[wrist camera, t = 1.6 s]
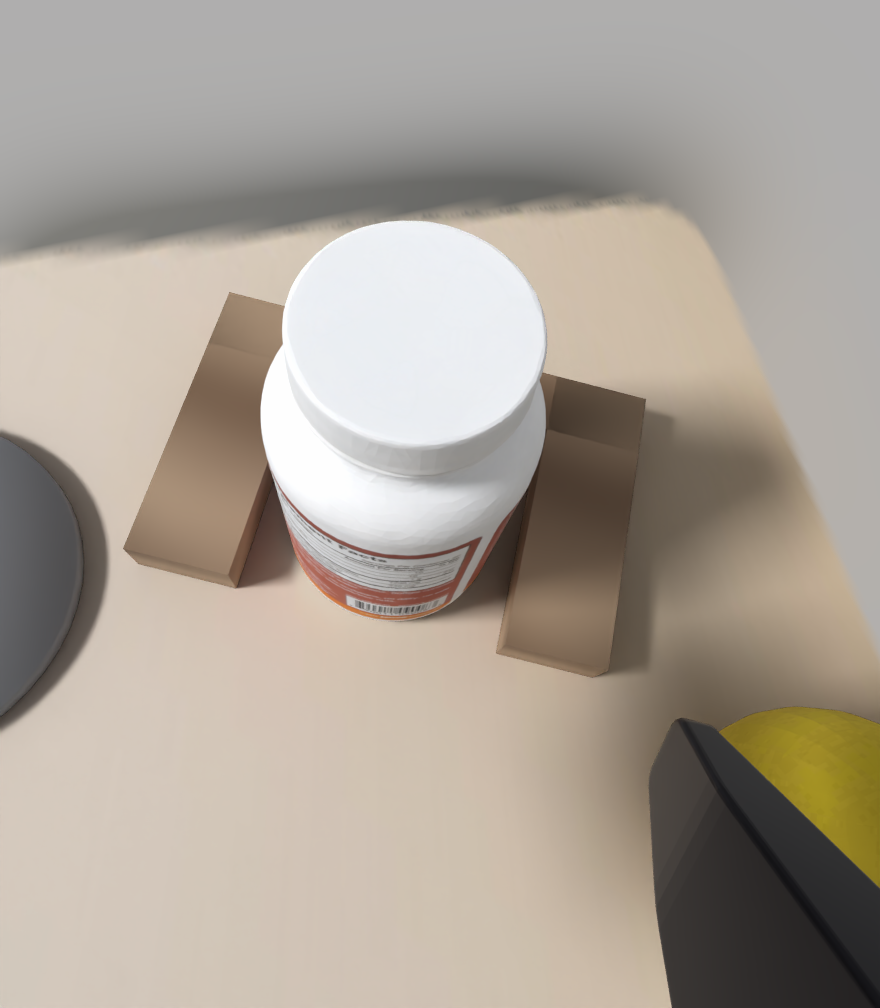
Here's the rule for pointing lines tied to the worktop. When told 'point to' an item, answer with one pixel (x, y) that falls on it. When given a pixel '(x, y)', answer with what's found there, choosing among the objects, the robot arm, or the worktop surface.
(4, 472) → the mat
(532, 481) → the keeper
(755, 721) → the lemon
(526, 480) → the pill bottle
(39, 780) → the worktop surface
